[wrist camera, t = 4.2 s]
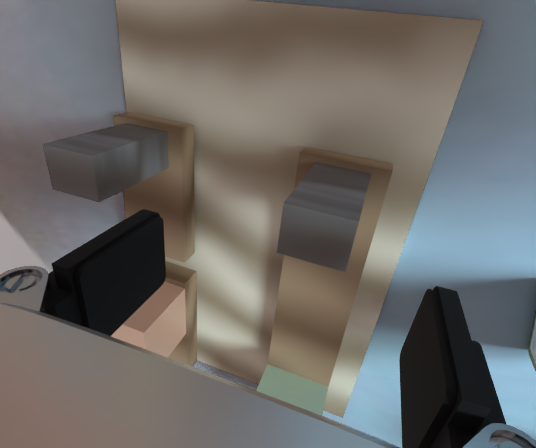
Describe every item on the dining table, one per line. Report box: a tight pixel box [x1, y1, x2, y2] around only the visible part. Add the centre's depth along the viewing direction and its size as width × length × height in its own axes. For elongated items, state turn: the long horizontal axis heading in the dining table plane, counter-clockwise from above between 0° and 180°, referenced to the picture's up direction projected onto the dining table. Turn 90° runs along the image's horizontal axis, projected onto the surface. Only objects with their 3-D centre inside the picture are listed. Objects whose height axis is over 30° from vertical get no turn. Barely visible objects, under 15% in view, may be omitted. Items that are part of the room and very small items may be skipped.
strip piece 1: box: [43, 112, 195, 263], centre depth 21 cm, size 10×5×8 cm, turn 174°
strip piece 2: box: [164, 261, 197, 367], centre depth 30 cm, size 11×5×2 cm, turn 174°
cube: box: [256, 364, 328, 416], centre depth 25 cm, size 5×5×5 cm
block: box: [111, 282, 186, 357], centre depth 26 cm, size 5×5×5 cm
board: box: [115, 0, 484, 418], centre depth 25 cm, size 30×20×1 cm, turn 174°
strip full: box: [268, 147, 393, 387], centre depth 22 cm, size 24×5×8 cm, turn 174°
